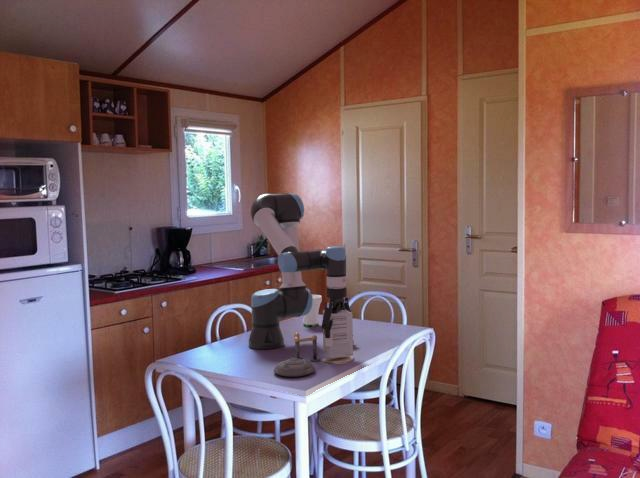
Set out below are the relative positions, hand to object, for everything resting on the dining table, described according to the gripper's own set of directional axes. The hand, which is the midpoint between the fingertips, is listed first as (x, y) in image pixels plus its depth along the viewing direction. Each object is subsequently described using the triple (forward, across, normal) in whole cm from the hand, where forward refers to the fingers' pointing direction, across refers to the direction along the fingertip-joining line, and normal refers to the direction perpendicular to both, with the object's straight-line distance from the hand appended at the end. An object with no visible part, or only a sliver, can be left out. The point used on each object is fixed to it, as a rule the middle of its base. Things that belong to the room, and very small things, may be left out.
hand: (337, 342), depth 234 cm
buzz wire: (+7, -7, +12) cm, 16 cm away
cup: (+7, +48, +42) cm, 64 cm away
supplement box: (+5, 0, 0) cm, 5 cm away
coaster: (+7, 0, 0) cm, 7 cm away
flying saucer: (+7, -21, +6) cm, 23 cm away
